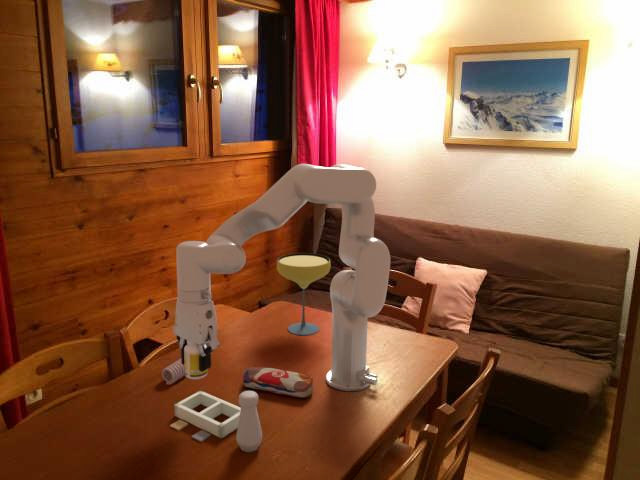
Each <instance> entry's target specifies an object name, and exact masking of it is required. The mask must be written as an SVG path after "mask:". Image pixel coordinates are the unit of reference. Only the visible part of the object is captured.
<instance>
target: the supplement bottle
mask: <svg viewBox="0 0 640 480" xmlns="http://www.w3.org/2000/svg"><path fill="white" fill-rule="evenodd" d="M204 348H205V349H206V348H207V346H206V344H205V345H204ZM200 355H201V353H200V349H199V345H198V344H197V343H194V342H192V341H189V340H187V345H186V346H185V348H184V362H185V375H184V377H186V378H188V379H190V380H200V379H203V378H205V377H207V375H208V370H209V369H207V370H205V371H203V372H201V371H200V370H199V356H200Z"/></svg>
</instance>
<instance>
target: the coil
mask: <svg viewBox="0 0 640 480" xmlns="http://www.w3.org/2000/svg"><path fill="white" fill-rule="evenodd" d="M161 376H162V379H163V380H164V381H165V382H166V383H165V384H166V385H169V386H171V385H172V384H174V383H176V382H177V381H178V380H180V379H181V378H183V377H185V364H182V362H181V358H178V360H176V361H175V362H173V363H171V364H170V365H168V366H166V367H165V368H163V369H162V371H161Z"/></svg>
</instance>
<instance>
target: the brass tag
mask: <svg viewBox="0 0 640 480" xmlns="http://www.w3.org/2000/svg"><path fill="white" fill-rule="evenodd" d="M188 426H189V422H187V421H185V420H182V419H178V420H177V421H175V422H173V423H171V424H170V425H169V427H170V428H171V429H173V430H176V431H178V432H179V431H181V430H183V429H185V428H186V427H188Z"/></svg>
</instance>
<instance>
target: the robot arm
mask: <svg viewBox="0 0 640 480" xmlns="http://www.w3.org/2000/svg"><path fill="white" fill-rule="evenodd" d="M376 190H377V181H376V178H375V176H374V174H373V173H372V171H370V170H369V169H367V168H364V167H358V166H353V165H349V164H343V163H340V164H338V163H337V164H334V165H331V166H330V167H325V166H320V165H319V166H318V165H313V164H309V163H308V164H307V163H299V164H296V165H295V166H293V167H292V168H290V170H288V171H287V172H286V173H285V174H283V176H282V177H280V178H279V180H277V181H276V182H275V183H274V184H273V185H272V186H271V187H269V189H268V190H267V191H266V192H264V193H263V194H262V196H260V197H259V198H258V199H257V200H256V201H254V202H253V203H252V204H251V203H250V205H247V206H246V207H245V208H243V209H242V210H239V211H238V212H236V213H235V214H233V215H232V216H231V217H229V218H228V219H227V220H225V221H224V222H223V223H222V224H221V225H220V226H219V227H218V228H216V230H215V231H214V232H212V234H210V236H209V237H208V238H207V240H206V241H201V240H187V241H183V242H182V241H181V242H180V243H179V244H178V245H177V246H176V250H175V251H176V253H175V254H176V255H175V257H176V282H177V283H176V285H177V299H176V303H175V305H176V306H175V316H174V317H175V319H174V323H175V324H174V327H173V328H172V332H173V334H174V335H175V337H176V340H177V342H178V347H179V348H180V357H181V358H180V359H181V362H182V364H185V362H184V348H185V346H186V345H187V340H189V341H192V342H194V343H197V344H198V345H199V349H200V353H201V355H200V356H199V370H200V371H201V372H203V371H205V370H207V369H208V370H209V369H210V368H211V367H212V353H214V351H215V350H216V349H217V348H218V347H220V345H221V343H220V341H219V339H218V322H217V321H218V320H217V313H216V307H215V304H214V301H213V300H212V298H213V295H212V292H211V291H212V290H211V274H221V275H222V274H223V275H230V274H231V275H232V274H235V273H237V272H239V271H241V270H242V269H243V267H244V266H245V264H246V262H247V261H246V260H247V257H246V252H245V249H244V248H243V247H242V245H244V243H246V242H247V241H248V240H250V239H251V238H252V237H254V236H256V235H258V234H260V233H264V232H268V231H273V230H276V229H279V228H280V227H282V226H284V225H285V224H286V223H287V222H288V221H289V220H290V218H292V217H293V216H294V215H295V214H296V213H297V212H298V211H299V210H300V209H301V208H302V207H303V206H305V204H307V202H310V203H314V204H323V205H324V204H327V205H330V204H331V205H332V204H335V205H336V204H337V205H340V208H341V214H342V215H341V218H342V220H341V227H340V228H341V229H340V237H339V247H338V257H339V258H340V260H341V261H342V263H344V264H345V265H347V266H348V267H350V268H352V269H354V270H352V269H343V270H341V271H338V272H337V273H336V274H335V275H334V276H333V278H331V282H330V285H329V286H330V287H329V296H330V301H331V302H330V303H331V309H332V311H331V312H332V330H331V331H332V333H331V334H332V335H331V338H332V341H331V369H330V370H329V371H328V372H327V373H326V375H325V381H326V383H327V384H328V385H329V386H330V387H331V388H334V389H336V390H340V391H342V392H343V391H345V392H355V391H356V392H357V391H361V390H364V389H366V388H367V387H369V386H370V385H371V386H375V387H376V386H377V384H378V374H376V373H372V372H370V366H369V365H367V353H368V352H367V347H368V326H369V325H368V322H369V321H368V319H369V318H372V317H374V316H375V317H376V315H378V314H379V313H380V312H381V310H382V309H383V307H384V305H385V303H386V298H387V292H388V286H389V278H390V270H391V255H390V254H391V253H390V251H389V248H388V246H387V244H385V242H384V241H382V240H381V239H379V238H376V237H375V235H374V234H375V233H374V231H375V218H376V217H375V215H376V211H375V205H374V199H373V196H374V194H375V192H376ZM205 344H206V346H207V348H206V349H205V348H204V345H205Z"/></svg>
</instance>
